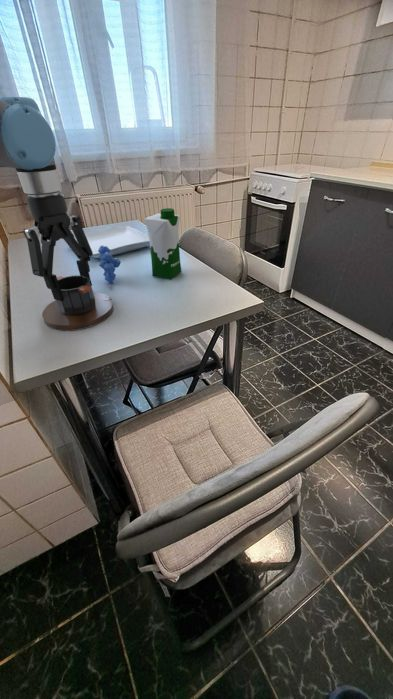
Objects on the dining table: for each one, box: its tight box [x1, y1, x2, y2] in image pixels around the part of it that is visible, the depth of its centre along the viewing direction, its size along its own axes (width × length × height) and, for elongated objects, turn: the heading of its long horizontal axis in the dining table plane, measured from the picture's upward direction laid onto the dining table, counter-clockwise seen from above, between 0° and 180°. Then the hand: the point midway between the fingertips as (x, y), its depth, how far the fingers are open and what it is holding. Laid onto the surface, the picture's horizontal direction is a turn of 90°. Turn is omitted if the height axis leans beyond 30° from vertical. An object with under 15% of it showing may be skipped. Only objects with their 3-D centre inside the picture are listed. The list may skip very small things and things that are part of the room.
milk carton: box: [143, 207, 182, 281], centre depth 92 cm, size 9×9×20 cm
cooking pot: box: [56, 274, 96, 315], centre depth 76 cm, size 9×13×7 cm
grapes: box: [98, 245, 122, 283], centre depth 91 cm, size 12×7×12 cm, turn 23°
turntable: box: [41, 291, 115, 331], centre depth 79 cm, size 18×18×2 cm
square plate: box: [74, 225, 150, 259], centre depth 122 cm, size 27×27×4 cm
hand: (73, 291), depth 75 cm, fingers closed on cooking pot, 9 cm apart
